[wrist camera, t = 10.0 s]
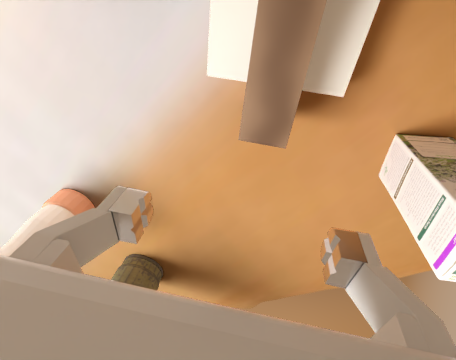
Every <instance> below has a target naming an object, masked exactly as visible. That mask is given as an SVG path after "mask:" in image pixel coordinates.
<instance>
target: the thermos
mask: <svg viewBox="0 0 456 360" xmlns="http://www.w3.org/2000/svg"><path fill="white" fill-rule="evenodd" d="M162 276H163V270H162V267H161V266H160V265H159V264H158V263H157V262H155V261H154V260H153V259H151V258H149V257H146V256H143V255H137V254H133V255H129V256H127V257H126V258H125V260H124V262H123V264H122V265H121V266H120V267H119V268H118V270H117V271H116V273H115V274H114V276H113V277H112V279H111V280H113V281H117V282H122V283H126V284H131V285H135V286H139V287H144V288H148V289H153V290H157V289H158V287H159V282H160V280H161V278H162Z"/></svg>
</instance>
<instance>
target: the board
mask: <svg viewBox="0 0 456 360" xmlns="http://www.w3.org/2000/svg"><path fill="white" fill-rule="evenodd" d="M379 2H380V0H327V2H326V6H325V9H324V13H323V16H322V20H321V24H320V27H319V31H318V34H317V38H316V42H315V45H314V49H313V52H312V56H311V60H310V63H309V67H308V70H307V74H306V78H305V81H304V85H303V89H302V91H308V92H314V93H320V94H327V95H333V96H340V97H344V94H345V91H346V89H347V86H348V84H349V81H350V78H351V76H352V73H353V70H354V68H355V65H356V63H357V60H358V57H359V55H360V52H361V49H362V47H363V44H364V42H365V39H366V36H367V34H368V31H369V29H370V26H371V23H372V21H373V18H374V15H375V13H376V10H377V8H378V5H379ZM257 6H258V0H210V19H209V40H208V62H207V76H212V77H218V78H224V79H231V80H237V81H244V82H247V77H248V70H249V63H250V56H251V48H252V41H253V34H254V27H255V20H256V13H257Z"/></svg>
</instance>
